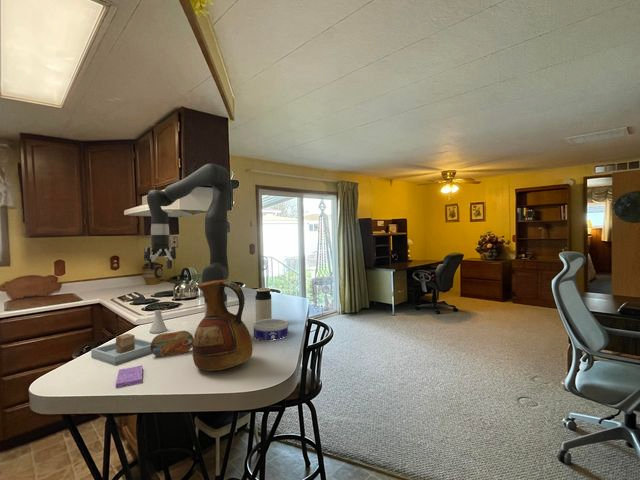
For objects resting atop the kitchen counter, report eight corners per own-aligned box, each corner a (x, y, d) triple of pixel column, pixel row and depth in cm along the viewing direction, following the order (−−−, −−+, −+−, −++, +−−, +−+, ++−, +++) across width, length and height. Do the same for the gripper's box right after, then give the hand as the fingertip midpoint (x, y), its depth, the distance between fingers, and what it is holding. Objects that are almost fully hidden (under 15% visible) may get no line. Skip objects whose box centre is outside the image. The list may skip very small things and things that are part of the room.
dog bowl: (284, 329, 156) (284, 317, 155) (291, 339, 141) (291, 325, 141) (252, 333, 151) (251, 320, 151) (255, 343, 136) (255, 328, 136)
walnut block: (134, 350, 125) (134, 335, 125) (122, 354, 121) (122, 338, 121) (127, 348, 128) (127, 333, 127) (116, 352, 124) (115, 336, 124)
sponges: (115, 389, 96) (115, 383, 96) (118, 374, 107) (118, 368, 107) (142, 384, 99) (142, 378, 99) (142, 369, 110) (142, 364, 110)
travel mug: (274, 323, 166) (274, 288, 166) (264, 327, 159) (263, 290, 159) (263, 321, 170) (262, 287, 170) (252, 325, 163) (252, 289, 163)
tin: (150, 358, 119) (150, 336, 119) (150, 356, 122) (150, 333, 122) (194, 351, 126) (193, 330, 126) (193, 349, 129) (192, 328, 129)
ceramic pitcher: (205, 355, 122) (204, 276, 122) (258, 355, 122) (257, 275, 121) (181, 377, 103) (180, 283, 102) (244, 377, 102) (243, 282, 102)
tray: (157, 351, 127) (157, 343, 127) (114, 365, 113) (114, 356, 113) (133, 344, 135) (133, 337, 135) (91, 357, 121) (91, 349, 121)
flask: (146, 332, 153) (146, 311, 152) (159, 328, 159) (158, 308, 159) (157, 334, 150) (157, 312, 150) (170, 330, 157) (169, 309, 156)
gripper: (150, 234, 140) (150, 271, 140) (179, 234, 152) (179, 268, 153) (140, 234, 144) (140, 270, 144) (169, 234, 156) (169, 267, 156)
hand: (160, 269), depth 148 cm, fingers open, 8 cm apart
